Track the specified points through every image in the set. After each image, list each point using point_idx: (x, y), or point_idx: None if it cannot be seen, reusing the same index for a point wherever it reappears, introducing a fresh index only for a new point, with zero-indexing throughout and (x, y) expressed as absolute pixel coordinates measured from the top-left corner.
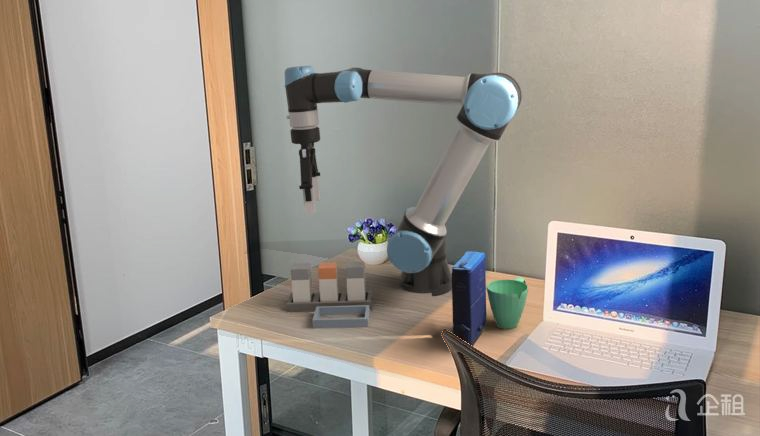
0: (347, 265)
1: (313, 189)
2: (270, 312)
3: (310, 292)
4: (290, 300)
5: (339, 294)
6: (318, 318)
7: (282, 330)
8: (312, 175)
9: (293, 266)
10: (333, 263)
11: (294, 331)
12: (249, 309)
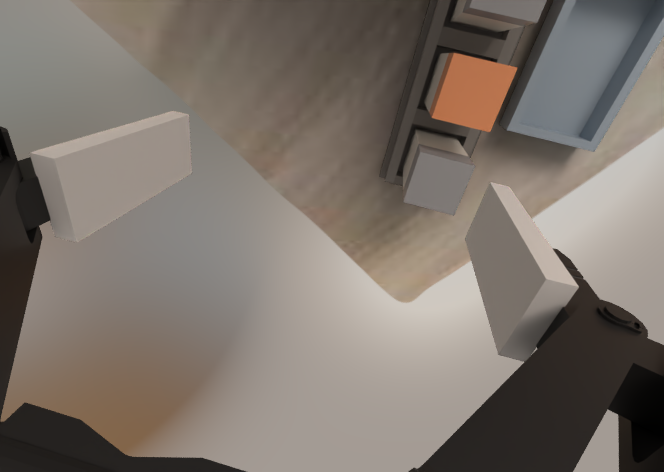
0: (513, 11)
1: (144, 171)
2: (419, 220)
3: (446, 141)
4: None
5: (434, 51)
6: (539, 127)
7: (529, 207)
8: (27, 207)
9: (429, 204)
10: (460, 68)
11: (549, 184)
12: (386, 254)
